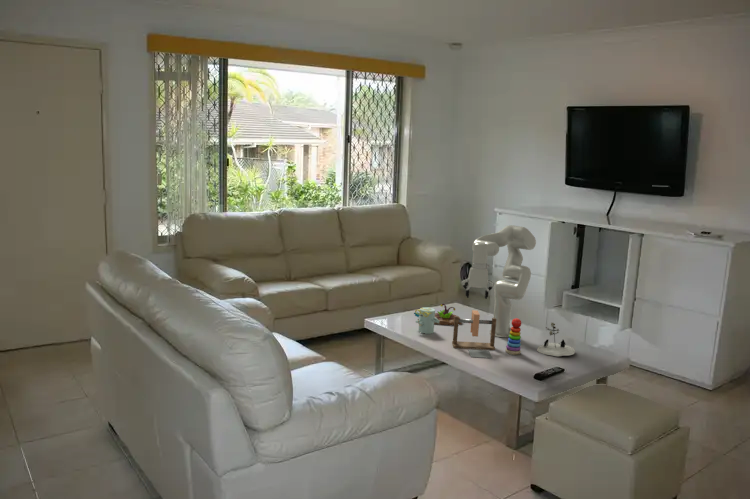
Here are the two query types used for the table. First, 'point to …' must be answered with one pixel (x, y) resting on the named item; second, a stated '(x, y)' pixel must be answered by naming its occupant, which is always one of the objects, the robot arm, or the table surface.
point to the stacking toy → (514, 338)
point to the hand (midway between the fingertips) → (476, 297)
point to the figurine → (555, 346)
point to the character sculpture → (426, 320)
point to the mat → (480, 353)
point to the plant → (445, 316)
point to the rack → (474, 344)
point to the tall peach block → (475, 323)
